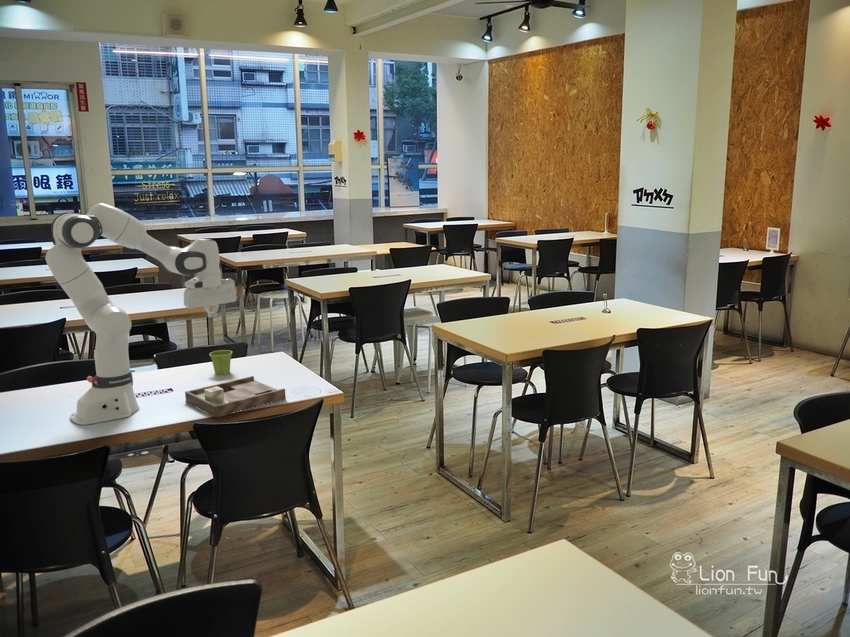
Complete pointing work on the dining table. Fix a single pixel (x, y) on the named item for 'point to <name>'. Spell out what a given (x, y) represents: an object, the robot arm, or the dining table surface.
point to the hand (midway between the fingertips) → (212, 316)
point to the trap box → (235, 396)
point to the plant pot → (221, 361)
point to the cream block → (214, 394)
